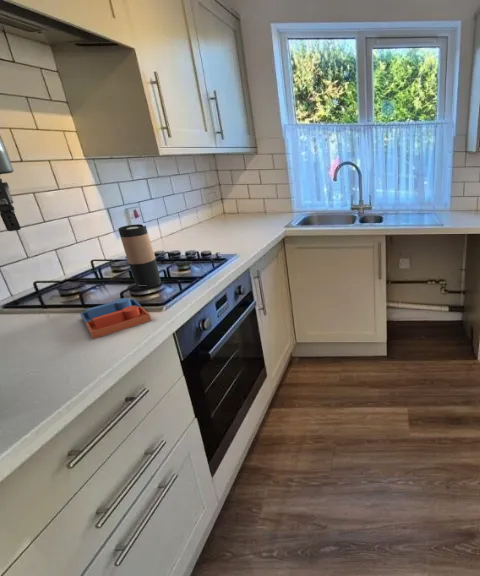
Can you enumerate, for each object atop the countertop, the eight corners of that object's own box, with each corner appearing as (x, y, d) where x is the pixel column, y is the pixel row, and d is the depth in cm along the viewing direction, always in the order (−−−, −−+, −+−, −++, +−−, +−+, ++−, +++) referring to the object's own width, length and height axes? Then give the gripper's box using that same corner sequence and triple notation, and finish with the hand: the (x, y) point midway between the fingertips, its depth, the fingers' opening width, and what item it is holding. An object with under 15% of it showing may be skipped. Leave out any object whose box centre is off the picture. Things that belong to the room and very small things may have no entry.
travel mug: (132, 290, 119) (113, 230, 111) (141, 281, 126) (124, 225, 118) (157, 287, 120) (140, 228, 113) (165, 279, 127) (149, 223, 119)
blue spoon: (91, 322, 97) (87, 312, 96) (89, 318, 100) (85, 308, 98) (134, 310, 104) (130, 300, 103) (130, 306, 106) (127, 296, 105)
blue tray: (87, 328, 95) (84, 321, 95) (82, 319, 100) (79, 313, 99) (143, 311, 104) (141, 305, 103) (135, 304, 109) (134, 298, 108)
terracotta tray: (93, 338, 90) (90, 332, 89) (87, 328, 95) (85, 322, 94) (151, 320, 99) (149, 314, 98) (143, 312, 104) (141, 306, 103)
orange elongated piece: (98, 332, 92) (94, 321, 91) (95, 327, 95) (91, 317, 93) (142, 318, 99) (139, 308, 98) (139, 314, 101) (135, 304, 100)
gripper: (-45, 150, 77) (-11, 226, 83) (-49, 151, 67) (-10, 236, 74) (4, 149, 82) (33, 220, 88) (6, 149, 72) (38, 229, 79)
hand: (13, 227), depth 81 cm, fingers open, 8 cm apart
